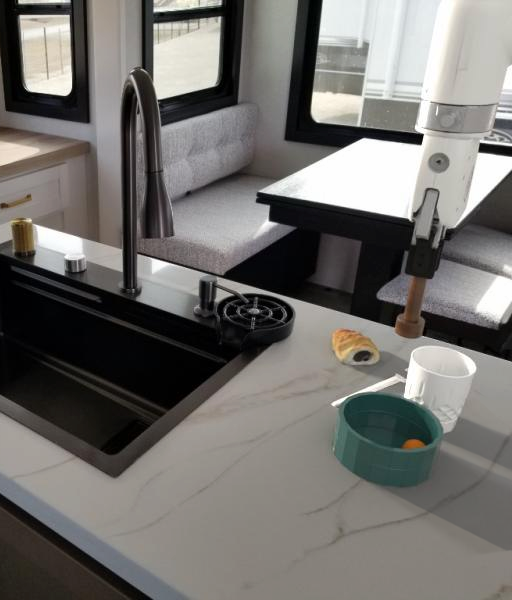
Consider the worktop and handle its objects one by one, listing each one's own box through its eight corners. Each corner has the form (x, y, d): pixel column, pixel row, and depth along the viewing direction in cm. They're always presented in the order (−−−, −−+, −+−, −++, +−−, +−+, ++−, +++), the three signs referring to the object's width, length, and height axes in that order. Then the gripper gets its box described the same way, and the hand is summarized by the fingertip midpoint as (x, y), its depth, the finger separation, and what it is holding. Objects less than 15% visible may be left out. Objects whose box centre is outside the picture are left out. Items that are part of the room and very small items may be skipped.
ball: (423, 448, 78) (422, 470, 79) (432, 439, 80) (430, 461, 81) (398, 441, 80) (397, 463, 81) (407, 433, 82) (405, 454, 83)
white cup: (461, 414, 90) (478, 354, 86) (455, 446, 84) (474, 383, 80) (401, 398, 94) (415, 340, 89) (392, 427, 88) (407, 366, 83)
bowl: (398, 423, 89) (407, 387, 86) (453, 484, 78) (465, 445, 75) (316, 432, 87) (322, 396, 85) (361, 496, 77) (369, 457, 74)
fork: (324, 402, 93) (325, 392, 92) (417, 366, 102) (419, 356, 101) (340, 414, 91) (342, 404, 90) (435, 376, 99) (437, 366, 98)
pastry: (321, 339, 110) (325, 319, 108) (360, 338, 110) (364, 318, 108) (341, 369, 101) (345, 348, 100) (383, 367, 102) (387, 347, 100)
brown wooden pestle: (414, 326, 82) (436, 223, 76) (426, 338, 80) (450, 233, 73) (390, 327, 82) (410, 224, 76) (401, 339, 80) (423, 234, 73)
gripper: (482, 135, 61) (441, 305, 70) (504, 108, 73) (466, 257, 81) (400, 127, 65) (370, 289, 73) (433, 103, 77) (404, 245, 85)
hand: (421, 271), depth 77 cm, fingers closed on brown wooden pestle
